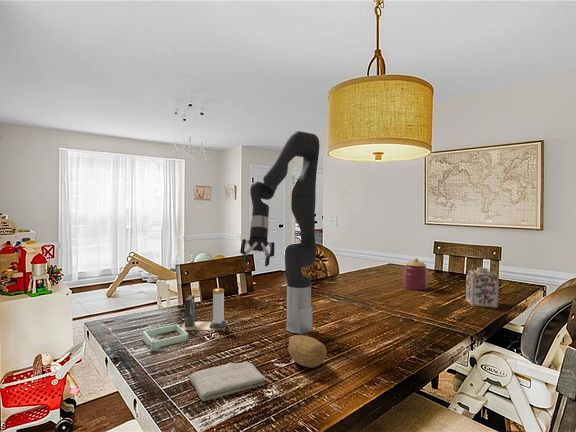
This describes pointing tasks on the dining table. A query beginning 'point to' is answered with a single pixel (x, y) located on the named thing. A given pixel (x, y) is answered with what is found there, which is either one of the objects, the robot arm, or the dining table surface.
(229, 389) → the washcloth
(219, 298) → the pin
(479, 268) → the decorative jar
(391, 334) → the dining table surface
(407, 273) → the canister
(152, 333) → the tray
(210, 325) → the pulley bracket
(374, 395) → the dining table surface
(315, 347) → the potato
